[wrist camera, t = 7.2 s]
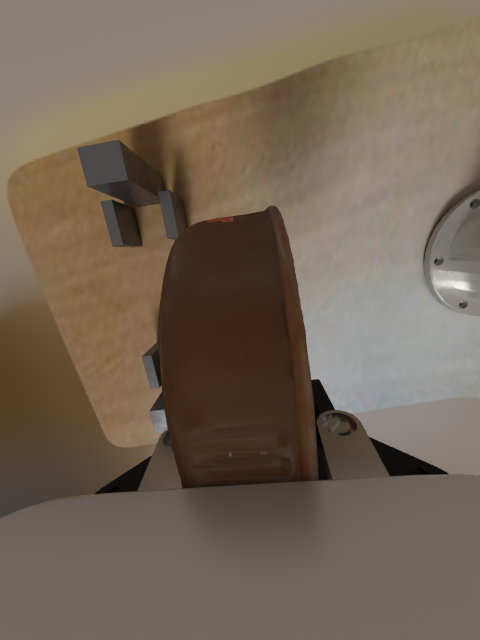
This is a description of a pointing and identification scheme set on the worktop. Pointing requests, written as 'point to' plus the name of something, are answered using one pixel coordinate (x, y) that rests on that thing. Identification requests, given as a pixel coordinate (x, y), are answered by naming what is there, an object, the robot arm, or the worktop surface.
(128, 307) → the worktop surface
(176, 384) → the tin
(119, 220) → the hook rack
